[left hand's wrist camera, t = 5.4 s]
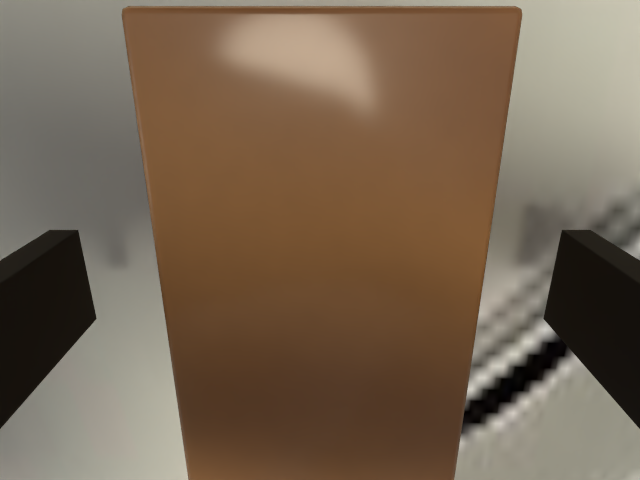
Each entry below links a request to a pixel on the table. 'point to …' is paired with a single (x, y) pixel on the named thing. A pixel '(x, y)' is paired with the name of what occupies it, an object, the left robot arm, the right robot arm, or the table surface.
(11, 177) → the table surface
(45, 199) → the table surface
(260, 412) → the post
